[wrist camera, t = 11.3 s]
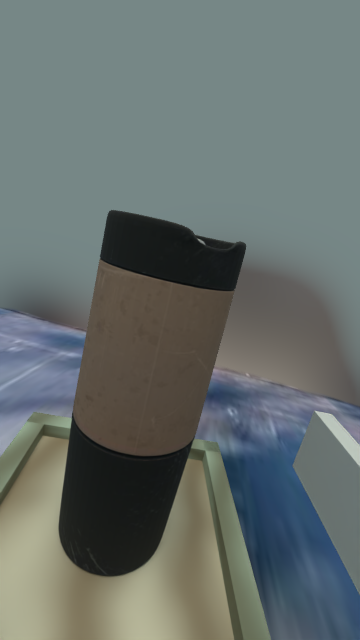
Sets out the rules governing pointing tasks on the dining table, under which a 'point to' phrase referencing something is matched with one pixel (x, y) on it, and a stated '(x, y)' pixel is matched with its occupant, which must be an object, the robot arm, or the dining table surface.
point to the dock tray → (131, 588)
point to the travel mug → (141, 386)
